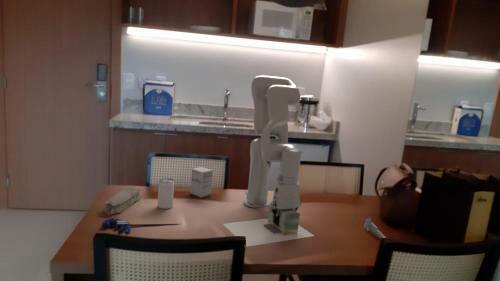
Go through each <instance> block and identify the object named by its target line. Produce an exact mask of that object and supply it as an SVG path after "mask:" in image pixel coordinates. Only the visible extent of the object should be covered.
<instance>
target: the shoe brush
mask: <svg viewBox="0 0 500 281" xmlns="http://www.w3.org/2000/svg"><path fill="white" fill-rule="evenodd" d="M140 192H141V189H140V188H138V187H134V186H133V187H126V188H124V189H122V190H120V191H119V192H117V193H116V194H114V195H112V196H111V197H110V198H108V199H107V200H106V201H105V202H104V204H105V209H104V210H103V212H104V213H105V214H107V215H114V214H115V215H116V214H121V213H122V212H123V211H125V210H126V209H127V208H129V206H132V205H134V203H136V202H138V201H139V200H140V199H141V193H140Z"/></svg>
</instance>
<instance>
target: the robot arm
mask: <svg viewBox="0 0 500 281" xmlns="http://www.w3.org/2000/svg"><path fill="white" fill-rule="evenodd" d="M250 86H251V87H250V89H251V91H250V92H251V97H252V99H253V105H254V106H253V129H254V133H255V134H256V135H257V136H260V137H258V138H255V139H253V140H252V141H251V143H250V145H249V146H250V147H249V148H250V150H249V151H250V152H249V153H250V165H249V175H248V176H249V178H248V185H247V186H248V187H247V191H245V195H246V197H245V198H244V199H243V204H244V205H245V206H246V207H249V208H253V209H260V208H261V209H262V208H267V209H269V211H270V210H271V211H272V212H273V214H274V217H273V223H274V224H276V225H277V226H278V225H279V219H280V216H279V213H280V211H281V210H286V209H293V210H295V211H296V212H298V211H297V210H298V209H299V208H300V207H301V206H302V205H303V204H302V202H301V201H300V195H301V190H300V183H299V182H298V181H299V174H300V168H301V167H300V166H301V159H302V152H301V150H300V149H299V148H297V147H296V146H295V145H293V144H292V143H289V124H288V123H289V121H290V117H291V116H290V111H289V106H291V107H295V106H298V104H299V103H300V101H301V92H300V89H299V88H298V86H297V85H296V84H295V83H294V82H293V81H292V80H291V79H290V78H289V77H288V78H287V77H284V76H274V75H257V76H255V77H253V80H252V82H251V85H250ZM271 136H272V137H275V138H271ZM269 163H279V172H278V176H277V177H276V178H275V179H276V185H275V187H274V190H273V196H272V197H273V198H272V201H271V202H270V201H269V200H268V195H269V188H270V186H269V185H270V177H271V167H270V164H269ZM273 206H275V208H273ZM277 209H278V210H277Z"/></svg>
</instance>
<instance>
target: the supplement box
mask: <svg viewBox="0 0 500 281" xmlns="http://www.w3.org/2000/svg"><path fill="white" fill-rule="evenodd" d="M213 171H214V170H212V169H210V168H206V167H203V166H201V167H199V166H198V167H195V168H194V167H193V168H192V169H191V179H190V191H189V193H190V194H191V195H194V196H196V197H199V198H203V197H207V196H210V195H211V194H212V193H211V192H212V182H213V173H214V172H213Z"/></svg>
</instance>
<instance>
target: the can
mask: <svg viewBox="0 0 500 281" xmlns="http://www.w3.org/2000/svg"><path fill="white" fill-rule="evenodd" d="M174 195H175V182H174V179H173V178H168V177H166V178H165V177H163V178H161V179H160V180H159V182H158V194H157V207H158V208H159V209H163V210H169V209H172V208H173V207H174V206H173V205H174Z"/></svg>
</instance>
